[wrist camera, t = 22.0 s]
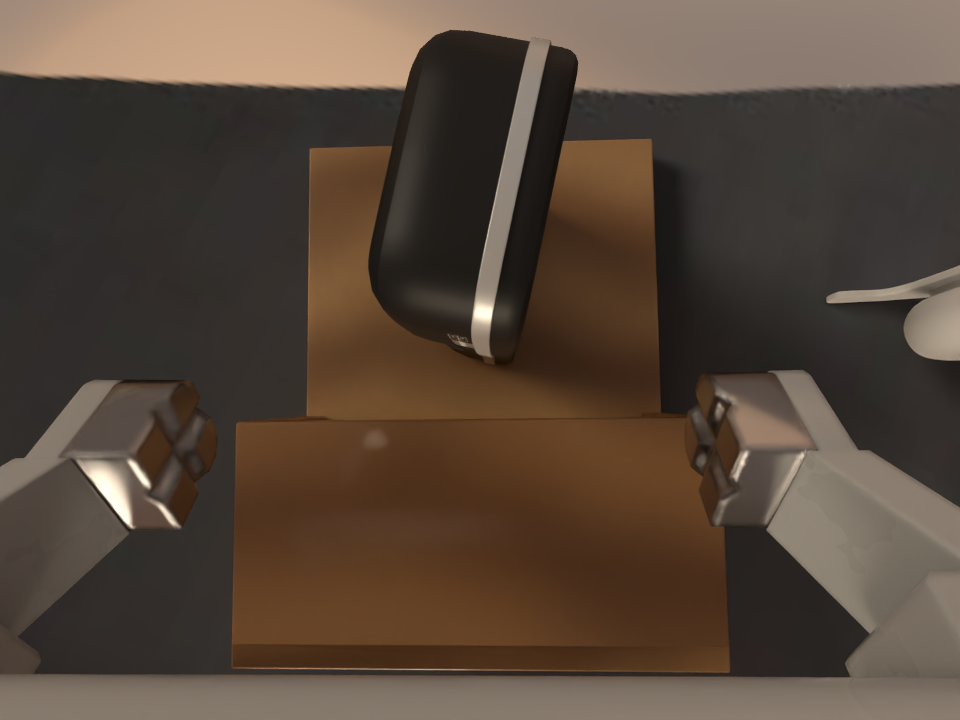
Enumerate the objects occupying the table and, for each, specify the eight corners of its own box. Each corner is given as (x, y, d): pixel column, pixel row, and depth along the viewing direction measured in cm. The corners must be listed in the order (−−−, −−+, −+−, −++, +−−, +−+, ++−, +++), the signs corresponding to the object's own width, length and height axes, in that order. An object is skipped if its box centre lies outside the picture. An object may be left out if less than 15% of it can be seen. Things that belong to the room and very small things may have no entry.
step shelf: (657, 584, 23) (731, 674, 15) (316, 583, 23) (230, 669, 16) (643, 154, 24) (706, 44, 17) (320, 162, 25) (241, 60, 17)
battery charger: (454, 184, 23) (407, -28, 11) (546, 202, 23) (591, 4, 11) (417, 353, 22) (330, 305, 11) (510, 372, 22) (521, 344, 11)
